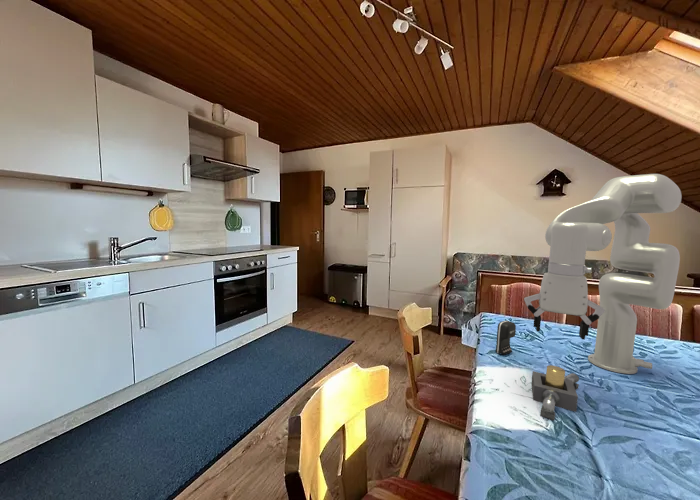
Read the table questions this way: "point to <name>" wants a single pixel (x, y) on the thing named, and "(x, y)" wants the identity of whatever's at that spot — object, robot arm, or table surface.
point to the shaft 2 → (573, 379)
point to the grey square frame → (566, 395)
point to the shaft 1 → (549, 403)
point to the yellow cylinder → (555, 377)
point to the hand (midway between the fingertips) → (559, 333)
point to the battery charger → (505, 337)
